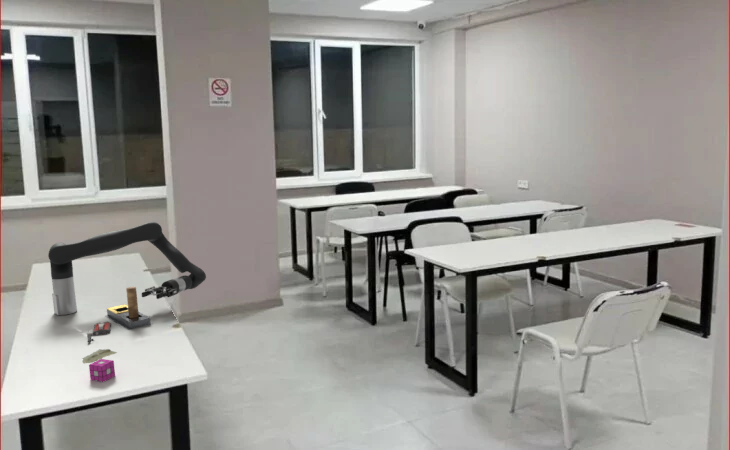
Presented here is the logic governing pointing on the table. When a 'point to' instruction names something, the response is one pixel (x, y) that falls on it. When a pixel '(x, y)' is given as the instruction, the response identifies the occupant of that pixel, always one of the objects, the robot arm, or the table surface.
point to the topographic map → (97, 355)
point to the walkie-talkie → (99, 329)
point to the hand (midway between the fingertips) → (149, 295)
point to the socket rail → (127, 317)
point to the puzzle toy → (102, 370)
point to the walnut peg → (132, 302)
